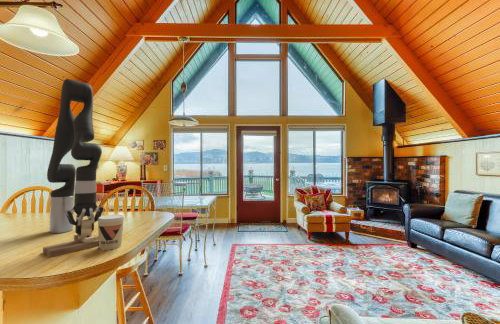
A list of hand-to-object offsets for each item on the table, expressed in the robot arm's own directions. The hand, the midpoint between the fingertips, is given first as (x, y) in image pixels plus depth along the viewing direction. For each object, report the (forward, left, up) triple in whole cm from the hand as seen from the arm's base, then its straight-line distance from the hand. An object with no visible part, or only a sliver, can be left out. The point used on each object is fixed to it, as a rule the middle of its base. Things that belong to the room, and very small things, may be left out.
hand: (84, 233), depth 101 cm
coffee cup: (+11, +5, -5) cm, 13 cm away
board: (+2, -3, -5) cm, 6 cm away
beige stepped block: (+1, 0, -4) cm, 4 cm away
